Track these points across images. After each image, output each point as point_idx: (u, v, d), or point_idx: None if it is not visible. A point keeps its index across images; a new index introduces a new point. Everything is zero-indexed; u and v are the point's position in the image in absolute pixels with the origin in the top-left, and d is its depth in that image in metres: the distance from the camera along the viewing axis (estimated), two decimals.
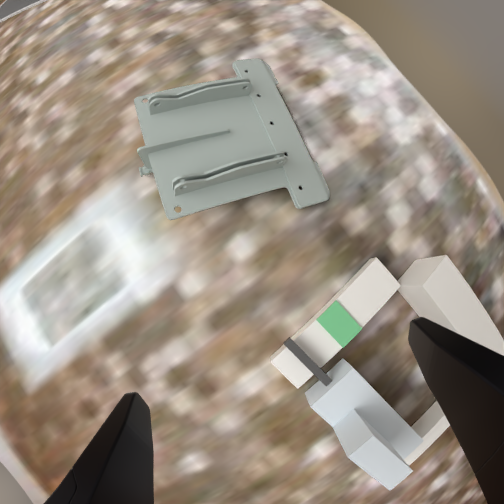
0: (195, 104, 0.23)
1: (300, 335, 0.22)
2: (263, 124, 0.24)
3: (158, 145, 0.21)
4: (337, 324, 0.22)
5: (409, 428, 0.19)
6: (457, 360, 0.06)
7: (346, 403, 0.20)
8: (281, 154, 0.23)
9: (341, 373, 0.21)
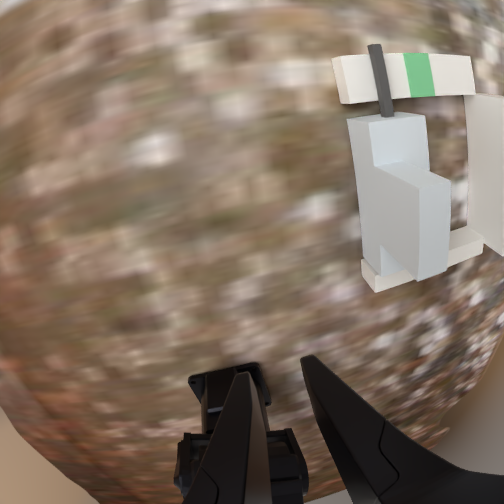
0: None
1: None
2: None
3: None
4: (419, 72, 0.16)
5: None
6: (326, 413, 0.06)
7: (400, 148, 0.16)
8: None
9: (406, 115, 0.16)
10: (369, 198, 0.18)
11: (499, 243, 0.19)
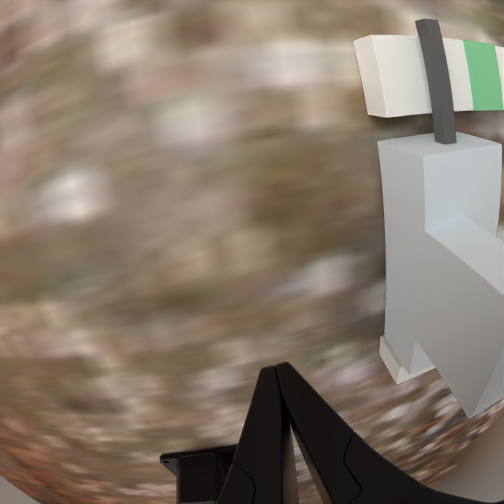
0: None
1: None
2: None
3: None
4: (485, 72, 0.09)
5: None
6: (294, 422, 0.06)
7: (465, 198, 0.09)
8: None
9: (473, 141, 0.09)
10: (407, 272, 0.11)
11: None
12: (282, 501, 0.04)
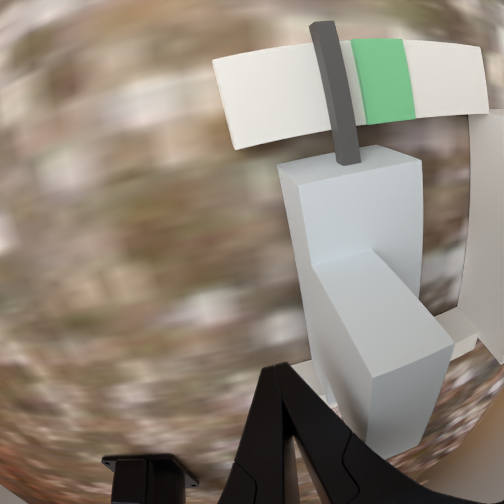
0: None
1: (305, 45, 0.08)
2: None
3: None
4: (383, 76, 0.09)
5: None
6: (293, 423, 0.06)
7: (367, 227, 0.09)
8: None
9: (386, 159, 0.09)
10: (310, 304, 0.11)
11: (499, 347, 0.12)
12: (284, 501, 0.04)
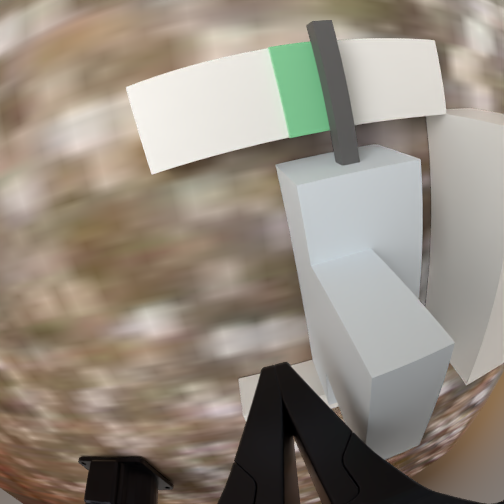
0: None
1: (217, 60, 0.08)
2: None
3: None
4: (307, 83, 0.09)
5: None
6: (292, 422, 0.06)
7: (366, 227, 0.09)
8: None
9: (385, 158, 0.09)
10: (310, 304, 0.11)
11: (464, 366, 0.12)
12: (284, 501, 0.04)
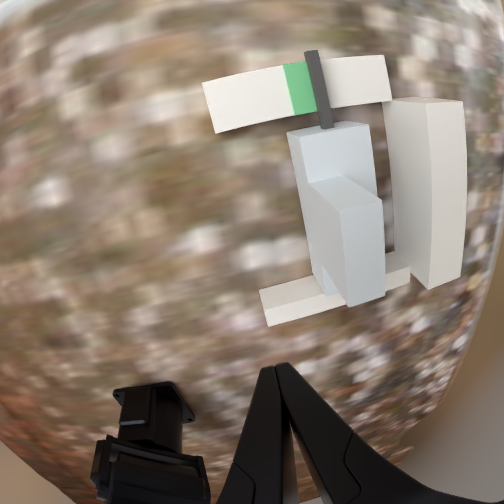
0: None
1: (254, 71, 0.15)
2: None
3: None
4: (304, 85, 0.16)
5: None
6: (294, 422, 0.06)
7: (339, 162, 0.16)
8: None
9: (348, 125, 0.16)
10: (309, 215, 0.18)
11: (424, 274, 0.19)
12: (282, 501, 0.04)
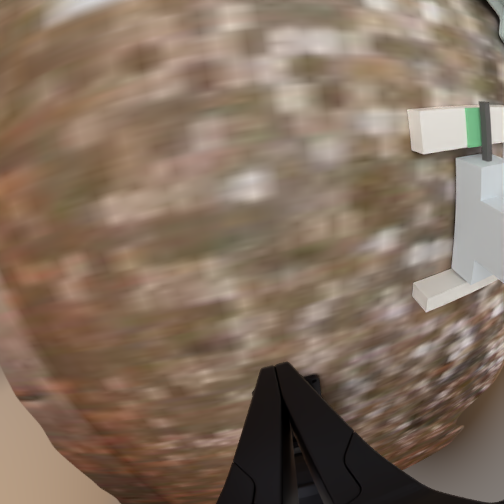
0: None
1: (450, 109, 0.17)
2: None
3: None
4: (475, 125, 0.17)
5: None
6: (294, 422, 0.06)
7: (496, 186, 0.18)
8: None
9: (499, 160, 0.18)
10: (469, 223, 0.20)
11: None
12: (282, 501, 0.04)
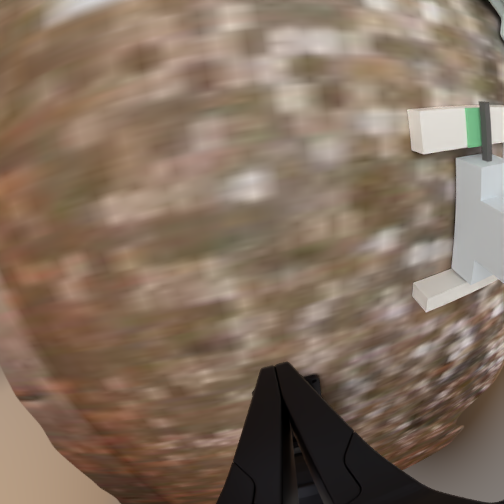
0: None
1: (450, 109, 0.17)
2: None
3: None
4: (475, 125, 0.17)
5: None
6: (294, 422, 0.06)
7: (496, 186, 0.18)
8: None
9: (499, 160, 0.18)
10: (469, 223, 0.20)
11: None
12: (282, 501, 0.04)
